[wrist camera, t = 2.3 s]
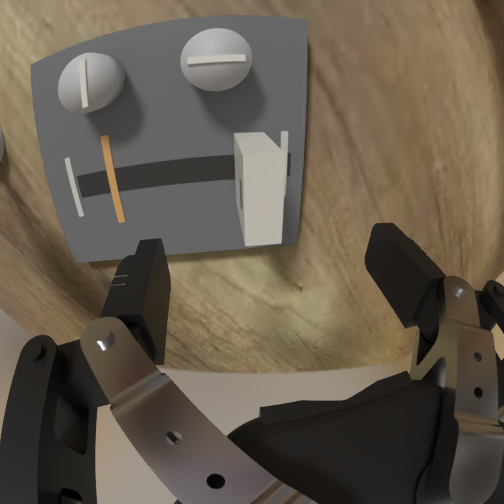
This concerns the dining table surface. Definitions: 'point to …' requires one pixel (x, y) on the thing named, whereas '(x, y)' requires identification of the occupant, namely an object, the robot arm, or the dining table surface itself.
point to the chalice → (1, 145)
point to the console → (168, 130)
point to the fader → (259, 187)
